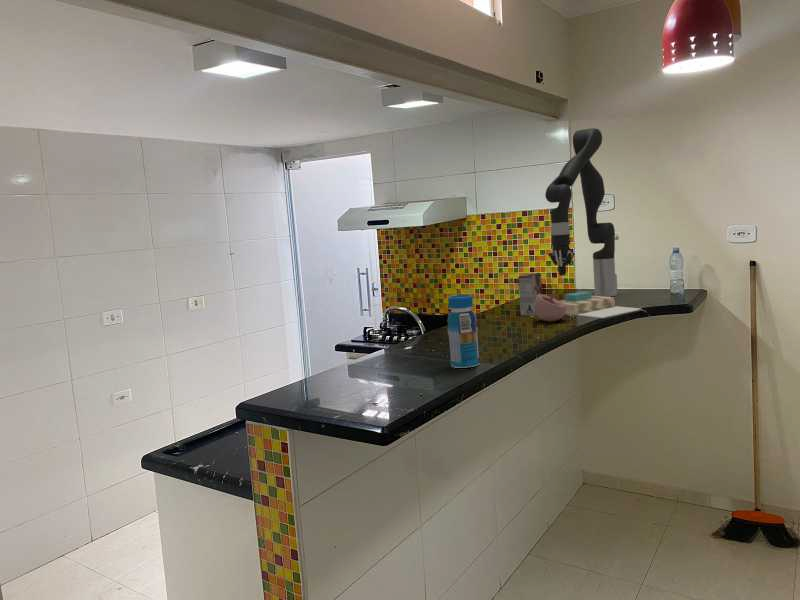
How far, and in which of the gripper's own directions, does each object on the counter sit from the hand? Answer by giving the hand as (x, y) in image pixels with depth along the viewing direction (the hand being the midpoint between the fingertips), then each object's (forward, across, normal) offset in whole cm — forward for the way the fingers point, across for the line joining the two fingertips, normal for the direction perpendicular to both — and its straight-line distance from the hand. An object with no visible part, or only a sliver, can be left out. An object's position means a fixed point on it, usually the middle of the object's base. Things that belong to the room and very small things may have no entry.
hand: (562, 275), depth 255 cm
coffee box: (+14, +1, +17) cm, 22 cm away
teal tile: (+9, -8, 0) cm, 12 cm away
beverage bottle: (+15, -48, +87) cm, 100 cm away
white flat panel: (+14, -24, 0) cm, 28 cm away
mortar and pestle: (+14, -18, +25) cm, 34 cm away
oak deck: (+14, -10, 0) cm, 17 cm away
